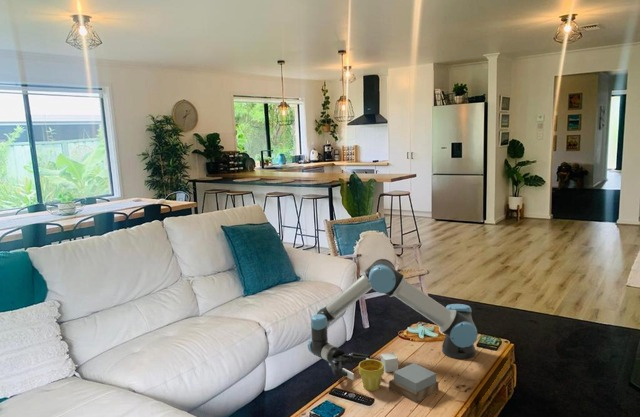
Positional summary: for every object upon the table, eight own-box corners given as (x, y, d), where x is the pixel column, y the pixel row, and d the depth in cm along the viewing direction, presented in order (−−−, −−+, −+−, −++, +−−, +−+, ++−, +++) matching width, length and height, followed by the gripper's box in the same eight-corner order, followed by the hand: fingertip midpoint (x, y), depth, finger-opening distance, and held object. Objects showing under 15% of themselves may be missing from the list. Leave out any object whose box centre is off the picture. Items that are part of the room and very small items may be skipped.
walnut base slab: (411, 378, 197) (411, 369, 197) (438, 391, 186) (438, 382, 186) (389, 390, 189) (389, 381, 188) (415, 404, 178) (415, 394, 177)
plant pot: (383, 394, 185) (382, 371, 184) (357, 392, 187) (357, 370, 186) (385, 381, 195) (384, 359, 194) (360, 379, 197) (360, 358, 196)
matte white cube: (380, 366, 208) (380, 354, 208) (393, 364, 210) (392, 352, 209) (385, 372, 202) (385, 359, 202) (398, 370, 204) (397, 358, 203)
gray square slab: (413, 371, 195) (413, 362, 194) (436, 382, 185) (436, 373, 185) (393, 381, 188) (393, 372, 187) (415, 393, 178) (415, 383, 178)
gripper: (353, 354, 217) (386, 370, 200) (311, 371, 202) (343, 390, 185) (353, 339, 216) (386, 353, 199) (310, 355, 201) (342, 372, 184)
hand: (365, 371), depth 192 cm, fingers open, 13 cm apart
